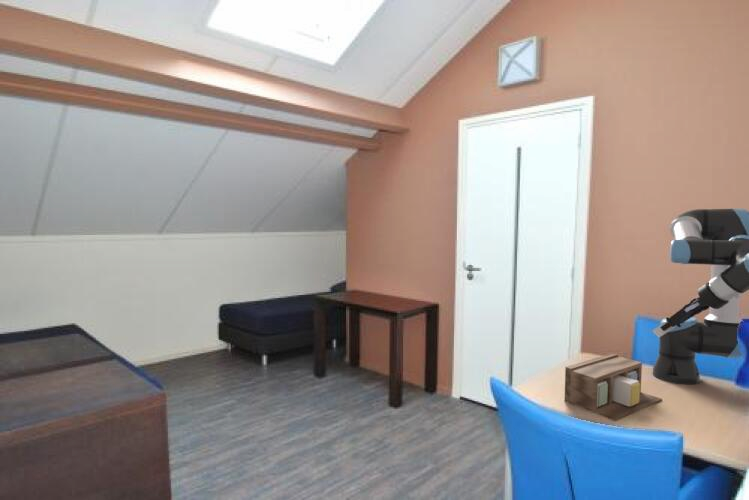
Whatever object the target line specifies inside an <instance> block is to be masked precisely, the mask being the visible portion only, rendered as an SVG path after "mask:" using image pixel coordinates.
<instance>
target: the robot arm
mask: <svg viewBox="0 0 749 500" xmlns="http://www.w3.org/2000/svg"><path fill="white" fill-rule="evenodd" d="M669 231H670V234H671V236H672V237H673V238H674V239H672V241H670V246H669V247H670V251H669V253H670V254H669V258H670V259H669V260H670V262H671V263H674V264H681V265H709V266H711V269H710V280H709V282H707V283H704V285H702V286H700V287H699V288H697V294H698V296H699V297H697V298H696V297H695V298H693V299H692V300H690V302H689V303H687V304H685V305H684V306H683V307H682V308H681V309H679V310H677V311H676V312H675V313H674V314H672V315H671V316H669V317H665V318H662V319H661V321H660V325H658V326H657V327H656V328H654V329H653V330H652V332H653V334H654V335H655V336H656V337H657V338H659V343H658V344H659V345H658V356H657V358H656V361H655V363H654V365H653V367H652V375H653V376H654V377H655V378H657V379H660V380H662V381H665V382H668V383H673V384H682V385H695V384H698V383H700V382H701V381H700V378H701V377H700V376H701V375H700V372H699V369H698V366H697V363H696V354H700V355H707V356H717V357H724V358H727V359H728V358H733V359H734V358H735V359H740V358H742V357H743V356H744V355H742V353H741V351H740V349H739V346H738V341H737V328H738V325H739V323H740V322H741V321H743V319H741V318H740V315H739V314H740V313H739V312H740V299H741V297H742V296H741V295H742V294H744V293H746V292H747V291H749V210H747V209H743V208H741V209H740V208H717V209H716V208H712V209H711V208H706V209H704V208H698V209H697V208H696V209H691V210H688V211H686V212H685V211H684V212H683V213H681V214H678V215H677V216H676V217H675V218H673V220H672V221H671V223H670V225H669ZM708 309H709V313H708V314H707V315H706V316H705V317H703V322H701V321H700V322H699V321H698V319H697V318H696V317H695V316H696V315H699V314H701V313H702V312H704V311H707V310H708Z"/></svg>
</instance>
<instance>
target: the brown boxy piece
mask: <svg viewBox="0 0 749 500" xmlns="http://www.w3.org/2000/svg"><path fill="white" fill-rule="evenodd" d="M642 365H643V362H642V361H638V360H634V359H630V358H626V357H623V356H619V354H617V353H614V352H613V353H609V354H605V355H602V356H599V357H595V358H592V359H588V360H585V361H581V362H578V363H575V364H571V365H568V366H565V369H564V371H565V373H564V374H565V375H564V402H565V403H568V404H571V405H573V406H576V407H578V408H581V409H583V410H587V411H589V412H591V413H594V414H596V415H598V416H602V417H605V418H607V419H609V420H612V421H615V422H616V421H618V420H621V419H623V418H626V417H627V416H630V415H632V414H634V413H635V414H636V413H638V412H639V411H641V410H643V409H646V408H648V407H650V406H652V405H655V404H657V403H659V402H662V401H663V399H662V398H660V397H657V396H655V395H652V394H648V393H646V392H643V391H642V390H641V389H642V371H643V369H642V368H643V366H642ZM630 370H635V371H636V373H637V381H639V383H640V397H639V403H637V404H635V405H633V406H630V407H629V406H626V405H623V404H620V403H617V402H614V401H612V386H613V376H615V375H620V376H624V377H627V378H628V371H630ZM601 380H604V381H607V384H608V392H607V403H606V404H603V405H601V406H598V407H597V386H598V381H601Z"/></svg>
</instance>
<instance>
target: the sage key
mask: <svg viewBox="0 0 749 500" xmlns="http://www.w3.org/2000/svg"><path fill="white" fill-rule="evenodd" d="M607 392H608V384H607V381H604V380H601V381H598V386H597V407H598V406H601V405H603V404H606V403H607Z"/></svg>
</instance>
